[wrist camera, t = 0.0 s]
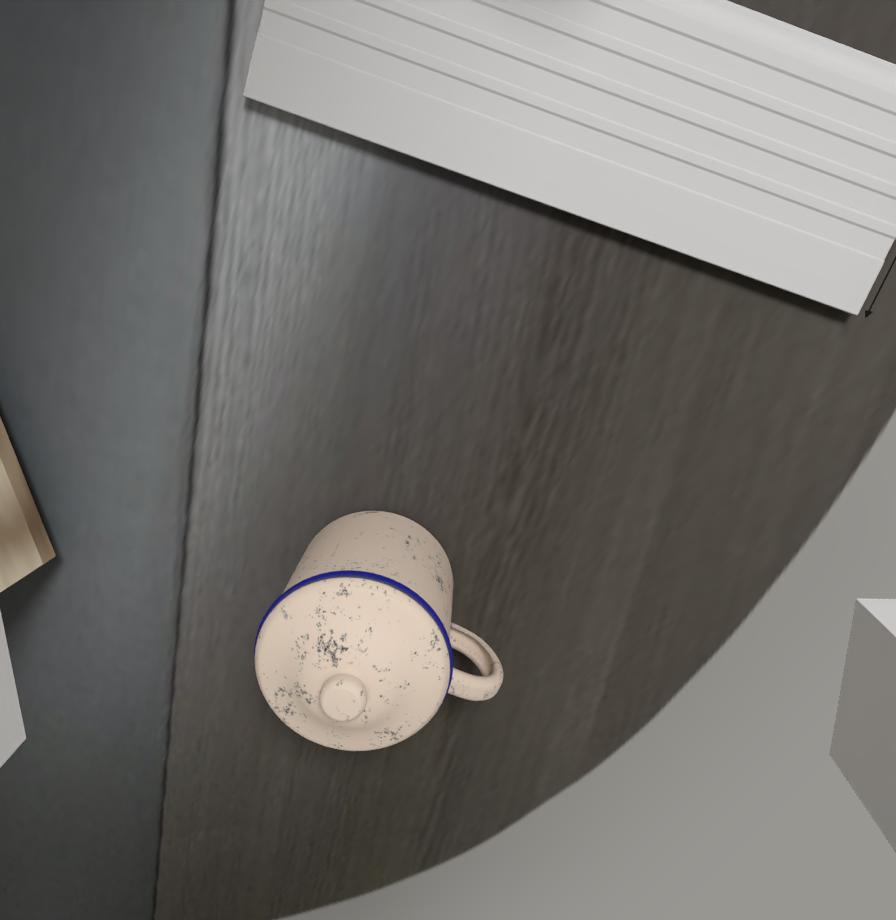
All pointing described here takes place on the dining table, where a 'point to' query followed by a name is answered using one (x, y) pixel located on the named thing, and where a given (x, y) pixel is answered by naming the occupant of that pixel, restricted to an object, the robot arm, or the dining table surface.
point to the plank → (18, 521)
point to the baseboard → (620, 119)
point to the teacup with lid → (368, 636)
